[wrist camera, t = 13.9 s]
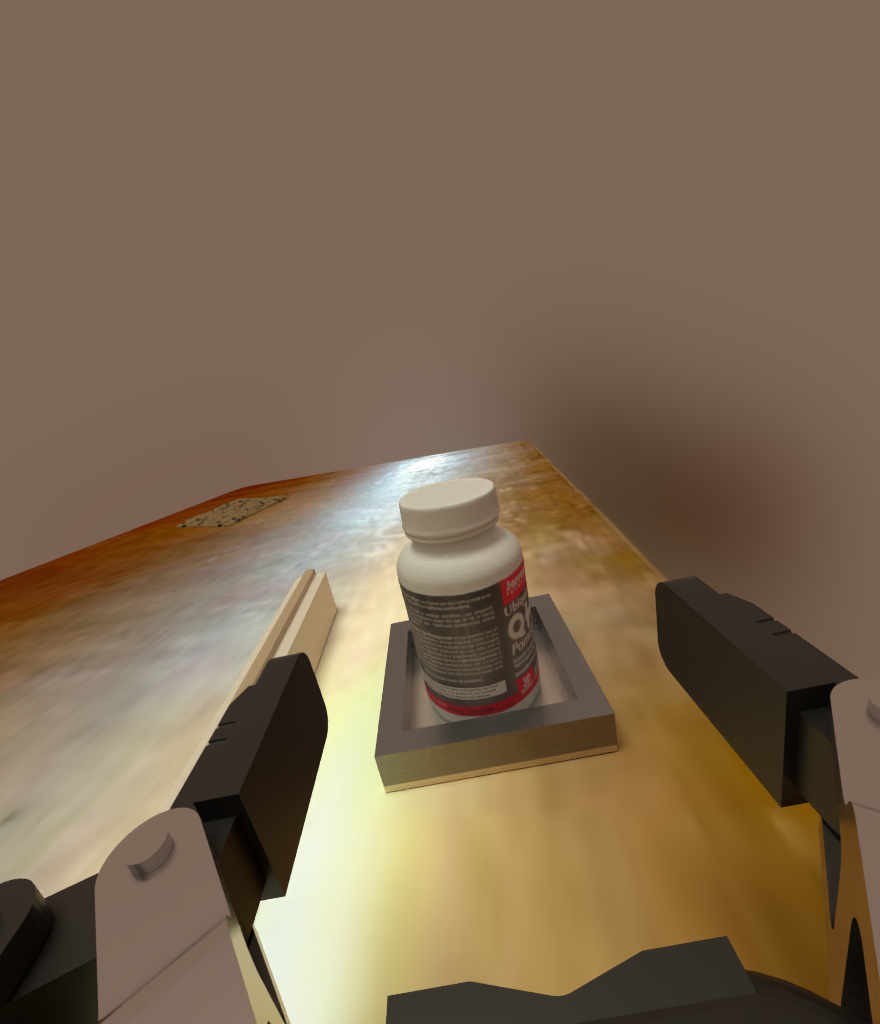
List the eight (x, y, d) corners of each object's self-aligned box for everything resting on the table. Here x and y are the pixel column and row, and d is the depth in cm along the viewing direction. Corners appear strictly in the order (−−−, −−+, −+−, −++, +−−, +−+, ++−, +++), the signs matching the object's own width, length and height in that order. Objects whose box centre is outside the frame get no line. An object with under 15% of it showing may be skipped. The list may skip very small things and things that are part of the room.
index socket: (617, 750, 17) (614, 713, 16) (385, 792, 17) (374, 757, 17) (552, 621, 25) (548, 593, 25) (398, 650, 26) (391, 623, 25)
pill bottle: (555, 721, 18) (522, 498, 15) (427, 741, 19) (370, 526, 16) (530, 643, 23) (501, 464, 20) (429, 660, 24) (387, 486, 21)
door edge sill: (208, 974, 13) (162, 895, 12) (141, 985, 13) (89, 907, 12) (337, 609, 32) (324, 566, 31) (309, 614, 32) (295, 572, 31)
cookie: (293, 498, 69) (291, 492, 69) (229, 529, 59) (227, 522, 59) (241, 501, 75) (239, 495, 75) (175, 530, 65) (172, 524, 65)
